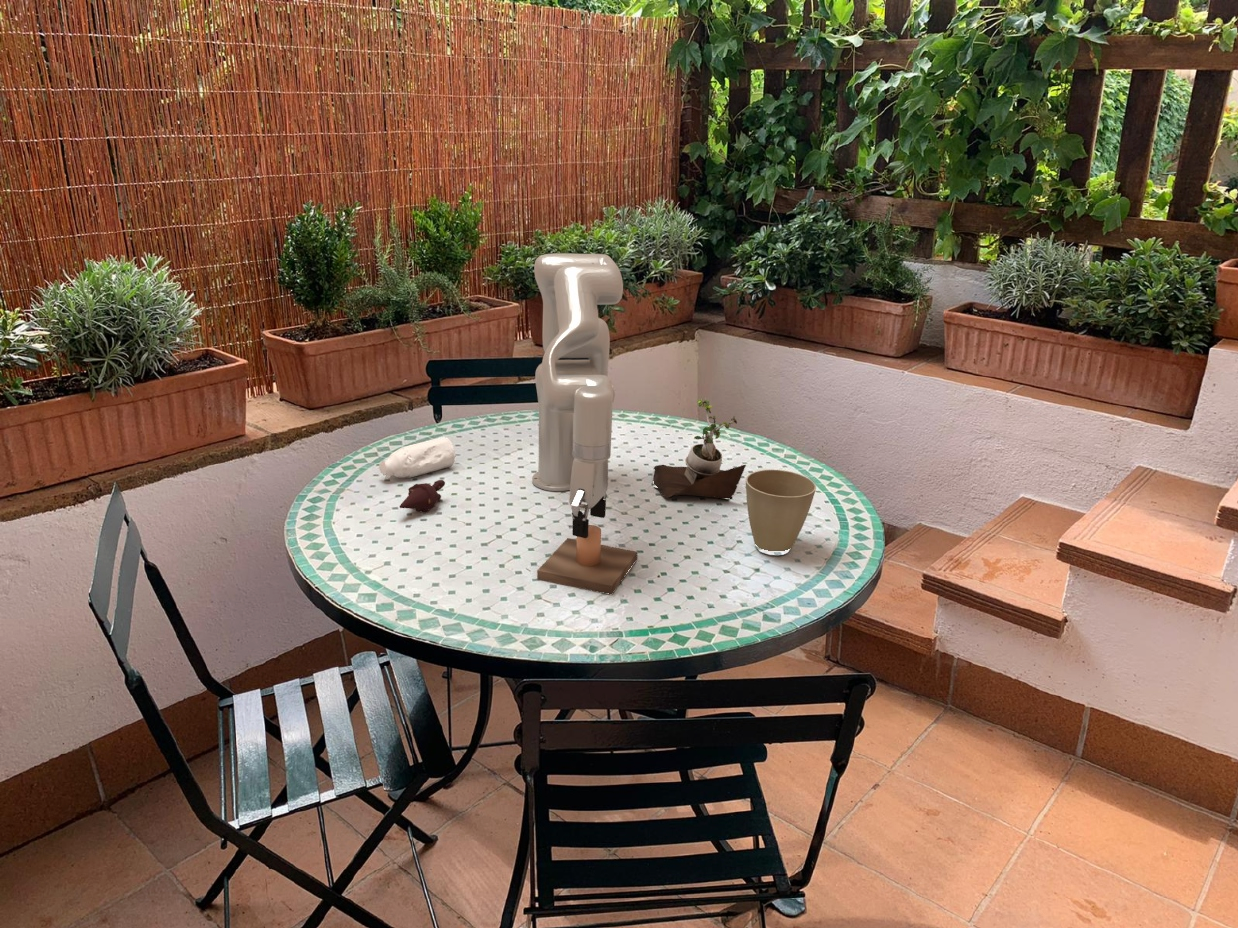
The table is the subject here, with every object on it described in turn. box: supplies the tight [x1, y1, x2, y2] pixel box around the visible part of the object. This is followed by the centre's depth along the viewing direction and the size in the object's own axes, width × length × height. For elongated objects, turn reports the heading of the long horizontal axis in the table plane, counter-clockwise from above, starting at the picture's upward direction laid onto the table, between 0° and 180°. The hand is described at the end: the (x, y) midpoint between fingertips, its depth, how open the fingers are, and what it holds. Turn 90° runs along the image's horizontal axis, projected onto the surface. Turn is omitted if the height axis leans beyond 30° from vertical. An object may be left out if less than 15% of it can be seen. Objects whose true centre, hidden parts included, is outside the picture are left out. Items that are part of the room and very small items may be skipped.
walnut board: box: [536, 537, 638, 595], centre depth 191 cm, size 16×16×2 cm
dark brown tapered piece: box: [399, 479, 446, 514], centre depth 214 cm, size 7×7×15 cm
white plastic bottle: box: [378, 436, 456, 479], centre depth 234 cm, size 8×19×8 cm, turn 133°
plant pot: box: [745, 469, 817, 551], centre depth 200 cm, size 15×15×16 cm
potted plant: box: [652, 398, 747, 499], centre depth 229 cm, size 20×19×25 cm
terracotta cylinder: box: [576, 524, 602, 566], centre depth 189 cm, size 5×5×7 cm
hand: (589, 526), depth 188 cm, fingers open, 9 cm apart
